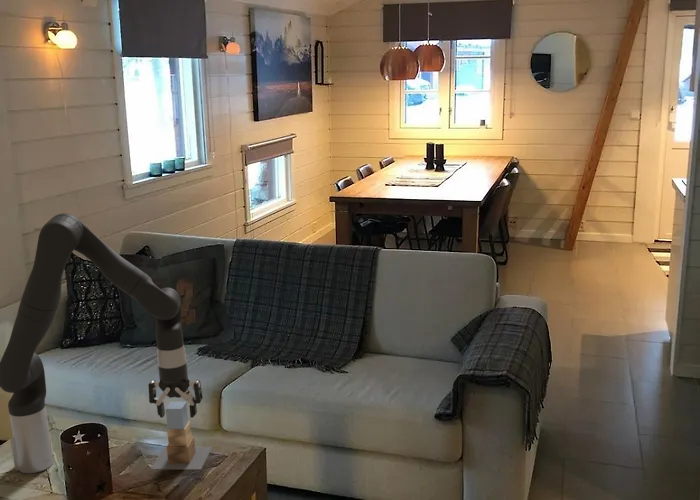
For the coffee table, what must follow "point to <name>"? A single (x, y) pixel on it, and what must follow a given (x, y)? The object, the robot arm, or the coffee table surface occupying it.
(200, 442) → the coffee table surface
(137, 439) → the coffee table surface
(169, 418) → the light grey box block
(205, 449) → the felt mat
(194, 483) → the coffee table surface
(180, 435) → the oak top block
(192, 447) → the walnut base block
